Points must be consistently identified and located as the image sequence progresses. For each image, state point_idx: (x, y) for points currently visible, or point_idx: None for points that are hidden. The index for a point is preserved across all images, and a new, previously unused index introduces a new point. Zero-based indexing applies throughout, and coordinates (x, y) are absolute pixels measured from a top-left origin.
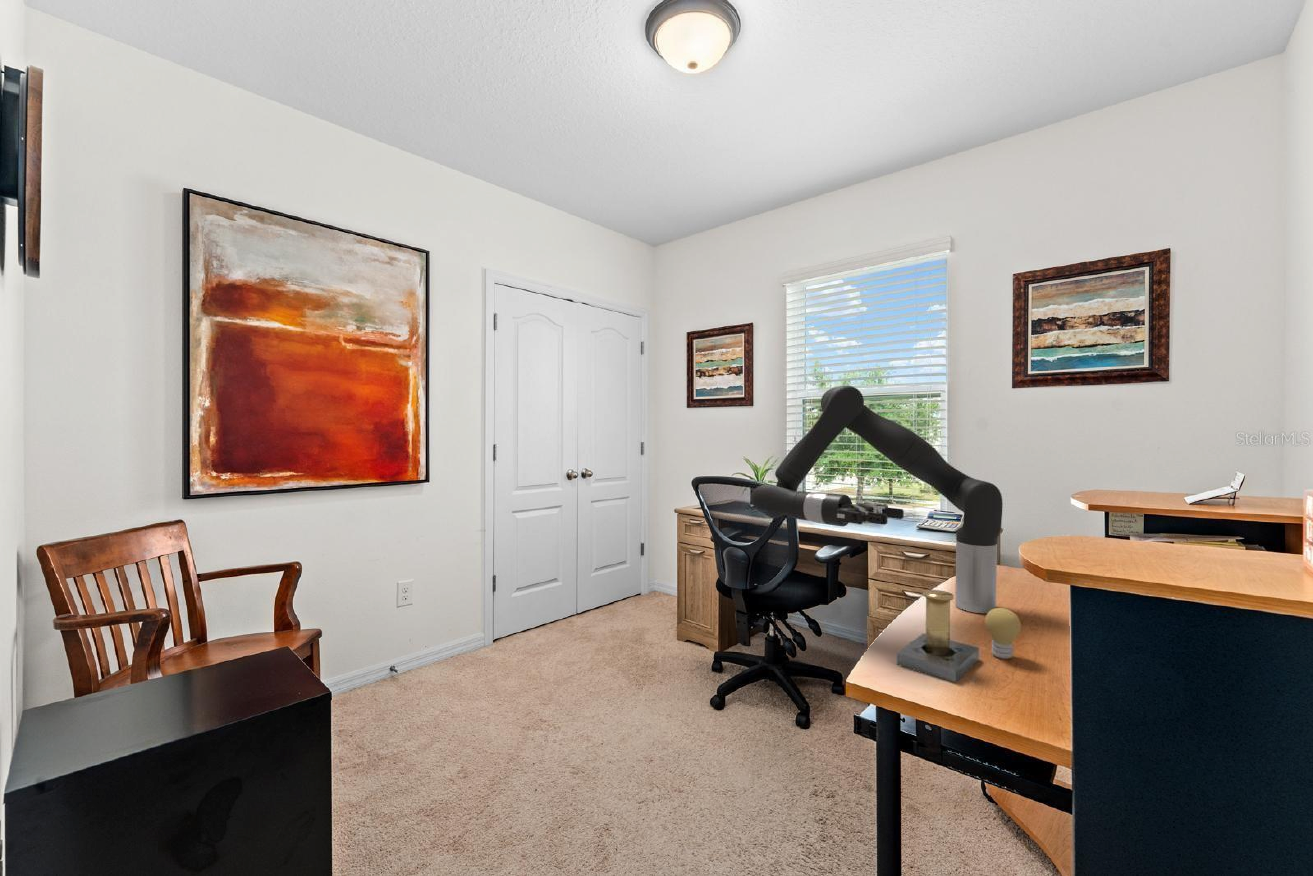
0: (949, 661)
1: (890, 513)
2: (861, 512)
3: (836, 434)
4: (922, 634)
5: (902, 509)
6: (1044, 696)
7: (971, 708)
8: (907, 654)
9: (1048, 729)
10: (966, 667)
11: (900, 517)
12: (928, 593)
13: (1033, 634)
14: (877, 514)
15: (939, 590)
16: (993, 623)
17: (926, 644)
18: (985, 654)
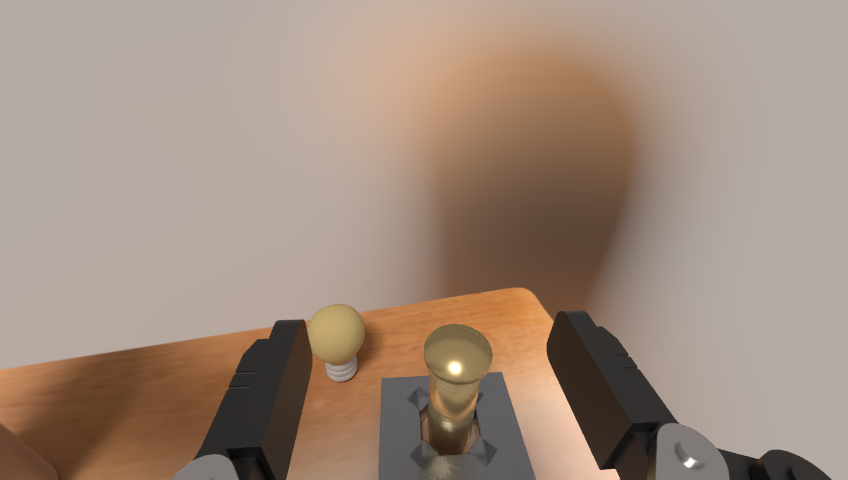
0: (480, 389)
1: (285, 427)
2: (770, 472)
3: None
4: None
5: (280, 320)
6: (439, 310)
7: (544, 348)
8: (522, 457)
9: (510, 295)
10: None
11: (309, 364)
12: (474, 364)
13: (196, 365)
14: (612, 357)
15: (426, 358)
16: (362, 334)
17: (467, 434)
18: (349, 391)
